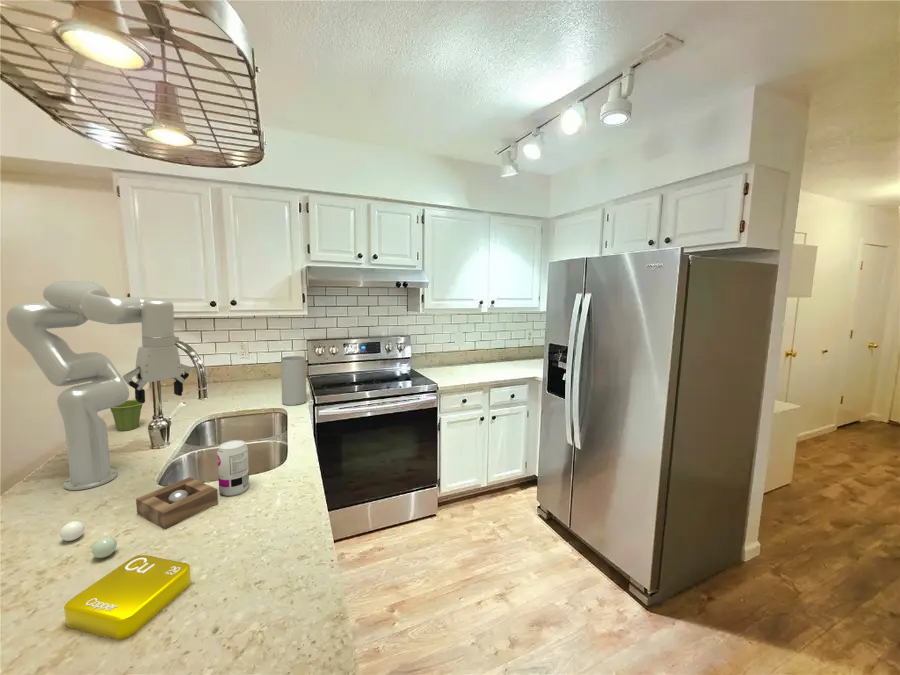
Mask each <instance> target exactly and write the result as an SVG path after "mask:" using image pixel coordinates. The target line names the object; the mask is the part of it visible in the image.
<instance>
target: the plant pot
mask: <svg viewBox="0 0 900 675" xmlns="http://www.w3.org/2000/svg"><path fill="white" fill-rule="evenodd" d="M143 404H144V403H140V402H138V401H137V400H136V399H130V400H129V399H128V400H127V401H126V402H125V403H123V404H121V405H119V406H115V407H112V408H109V409H110V412H111V413H112V416H113V419H114V420H113V421H114V424H115V427H116V430H117V431H119V432H123V431H127V432H128V431H132V430H135V429H137V428H139V426H140V420H141V419H140V418H141V414H142V412H141V411H142V408H143Z"/></svg>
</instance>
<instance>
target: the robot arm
mask: <svg viewBox="0 0 900 675" xmlns="http://www.w3.org/2000/svg"><path fill="white" fill-rule="evenodd" d="M42 292H43V293H42V296H43V299H44V301H34V302H33V301H31V302H22V303H19V304H16V305H14V306H12V307H11V308H9V309H8V311H7V312H6V313H7V314H6V324H7V327H8V328H7V329H8V330H9V332H10V334H11V335H12V336H13V338H14V339H15V340H16V341H17V342H18V343H19V344H20V345H21V346H22V347H23V348H24V349H25V350H26V351H27V352H28V353H29V354H30V355H31V357H32V359H33V360H34V361H35V363H36V365H38V368H39V369H40V370H41V371H42V373H43V374H44V376H45V377H46V379H47V381H49V382H50V383H51V384H52V385H53V386H56V387H68V386H71V387H68V388H66V389H65V390H63V391H61V392H60V394H59V395H58V397H57V400H56V403H57V406H58V410H59V413H60V415H61V417H62V421H63V426H64V432H65V433H64V434H65V439H66V440H65V441H66V442H65V443H66V452H67V453H66V454H67V462H68V463H67V464H68V471H69V477H68V478H67V479H65V481H64V482H63V488H64V490H69V491H81V490H87V489H92V488H96V487H99V486H101V485H104V484H106V483H110V482H111V481H112V480H114V479H115V478H116V477H117V476H118V471H117V469H115V468H111V462H110V461H111V459H110V448H109V447H110V446H109V436H108V426H107V422H106V421H105V420H104V419H103V418H102V417H100V415H99V414H98V412H102V411H104V410H108V409H110V408H112V407H115V406H119V405H121V404H123V403H125V402H126V401H127V400H129V397H130V390H129V388H128V387H129V386H130V387H131V388H133V389H134V397H135V398H134V400H137V401H138V402H140V403H143V404H145V403H146V392H145V389H143V388H145V386H146V385H147V384H148V383H152V382H153V383H154V382H159V381H166V380H171V379H173V380H174V382H173V394H174V395H176V396H179V397H181V396H182V395H183V392H184V383H185V381H186V380H187V378H188V377H189V376H190V373H191V372H192V369H193V367H192V366H190V365H185V364H183V363H181V358H180V353H179V349H178V346H177V345H176V342H179V341H180V337H179V336H176V335H175V319H174V318H175V316H174V315H175V314H174V313H175V310H174V308H175V306H174V303H173V302H172V301H170V300H166V299H154V298H151V297H145V296H126V297H125V296H124V297H123V296H116V297H113V296H111V295H110V293H108V292H107V290H106V289H105V287H104V286H102V285H101V284H100V283H97V282H94V281H93V282H92V281H69V280H65V281H55V282H51V283H50V284H48V285H46V287H45V288H44V289H43V291H42ZM87 321H92V322H96V323H101V324H107V325H108V324H109V325H124V324H126V325H127V324H138V323H139V324H140V323H141V346H139V347H138V348H137V353H136V360H135V368H134V369H131V371H129V372H127V373H125V374H124V375H122V376H121V374H120V373H119V371H118V370H117V368H116V367H115V364H114V363H113V362H112V361H111V359H109V358H108V357H107V356H106V355H105V354H103V353H102V352H97V351H96V352H95V351H94V352H93V351H92V352H91V351H90V352H84V353H82V352H81V353H77V352H74V351H73V350H72V349H71V347H70V346H69V344H68V343H67V341H65V340H64V339H63V338H62V337H61V336H58V335H57V334H55V333H53V332H51V331H49V330H50V329H61V328H62V329H63V328H73V327H74V328H76V327H79V326H82V325H84V324H85V323H86V322H87ZM182 369H183V372H182V371H181V370H182ZM181 372H182V373H181ZM133 377H135V379H136V380H137V381H136V382H135V381H134V380H133Z"/></svg>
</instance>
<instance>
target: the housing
mask: <svg viewBox="0 0 900 675" xmlns="http://www.w3.org/2000/svg"><path fill="white" fill-rule="evenodd" d="M177 490H185V491H187V492H188V493H189V495H190V496H188V497H186V498H184V499H181V500H179V501H177V502H174V503H172V504H168V503H167V499H168V497H169V496H170V494H172V493H173V492H175V491H177ZM218 494H219V491H218V488H216V487H215V486H214V487H213V486H211V485H209V484H206V483H205V482H202V481H200V480H197V479H195V478H193V477H190V476H189V477H186V478H184V479H182V480H179V481H176V482H174V483H171V484H169V485H166V486H164V487H161V488H159V489H157V490H154V491H152V492H149V493H147V494H144V495H141V496H139V497H136V498H135V502H136V505H135V506H136V515H139V516H140V517H142V518H145V519H146V520H148V521H149V522H151V523H153V524H155V525H156V526H159V527H160V528H162V529H163V530H167V529H169V528H170V527H172V526H174V525H177V524H178V523H180V522H181V523H182V521H185V520H186V519H189V518H191V517H193V516H195V515H197V514H200V513H201V512H203V511H205V510H208V509H209V508H212V507H214V506H215V505H218V504H219V497H218Z"/></svg>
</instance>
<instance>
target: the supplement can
mask: <svg viewBox="0 0 900 675" xmlns="http://www.w3.org/2000/svg"><path fill="white" fill-rule="evenodd" d="M216 457H217V475H218V477H217V478H218V494H221V495H223V496H226V497H232V496H237V495H240V494H242V493H244V492H245V491H246V490H247V489H248V488H249V486H250V476H249V475H250V474H249V473H250V472H249V450H248V445H247V443H246V441H245V440H243V439H234V440H227V441H225V442H223V443H221V444H220V445H219V446H218V449H217V450H216Z"/></svg>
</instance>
